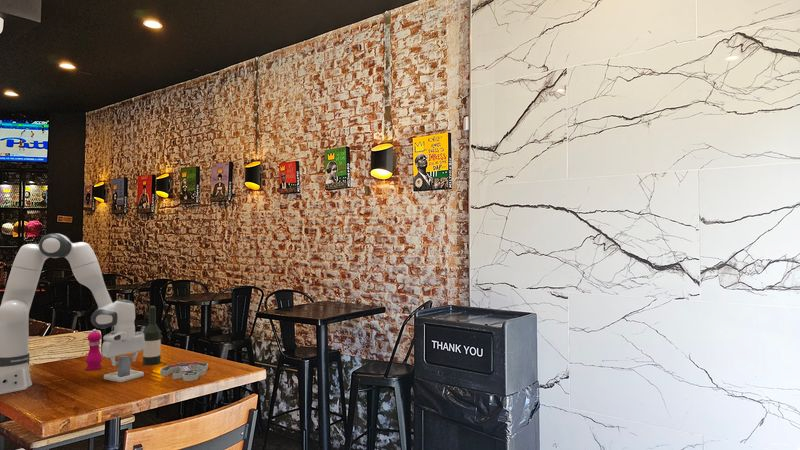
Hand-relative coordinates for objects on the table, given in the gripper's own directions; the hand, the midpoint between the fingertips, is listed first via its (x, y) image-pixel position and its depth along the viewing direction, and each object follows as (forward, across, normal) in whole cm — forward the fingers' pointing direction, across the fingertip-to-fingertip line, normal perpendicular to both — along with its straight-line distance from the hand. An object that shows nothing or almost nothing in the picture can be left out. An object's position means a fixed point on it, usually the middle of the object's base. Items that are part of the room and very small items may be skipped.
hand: (124, 363), depth 249 cm
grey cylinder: (+6, 0, 0) cm, 6 cm away
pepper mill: (+7, -4, -29) cm, 30 cm away
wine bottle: (+7, -25, -13) cm, 29 cm away
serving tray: (+7, 0, 0) cm, 7 cm away
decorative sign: (+7, -19, +20) cm, 29 cm away
